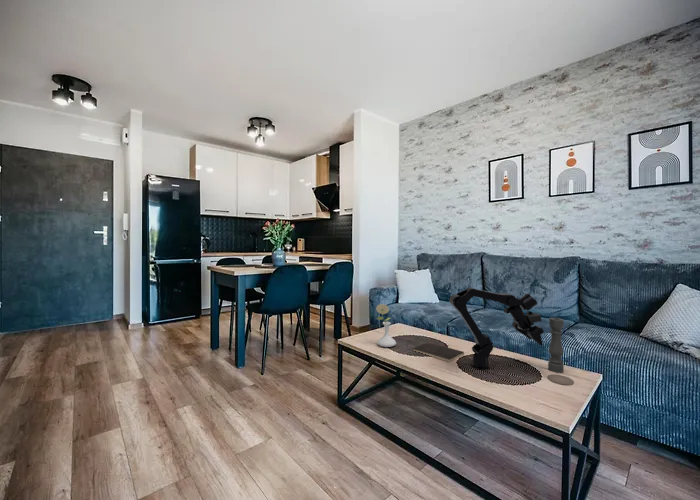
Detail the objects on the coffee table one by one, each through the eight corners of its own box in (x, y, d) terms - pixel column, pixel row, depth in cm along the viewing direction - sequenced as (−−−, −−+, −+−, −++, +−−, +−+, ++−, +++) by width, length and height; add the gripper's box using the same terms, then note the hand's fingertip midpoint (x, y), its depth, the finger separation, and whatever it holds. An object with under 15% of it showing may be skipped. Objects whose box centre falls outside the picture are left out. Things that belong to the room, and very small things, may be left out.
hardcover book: (449, 363, 161) (449, 358, 161) (412, 352, 178) (412, 348, 178) (464, 355, 172) (464, 351, 172) (428, 345, 189) (428, 342, 189)
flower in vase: (399, 344, 190) (399, 303, 189) (391, 349, 180) (391, 307, 179) (380, 340, 197) (380, 301, 196) (371, 346, 187) (371, 304, 186)
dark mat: (563, 386, 133) (563, 385, 133) (541, 377, 142) (541, 376, 142) (579, 383, 136) (579, 382, 136) (557, 374, 146) (557, 373, 146)
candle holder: (563, 374, 146) (564, 321, 146) (548, 371, 149) (548, 319, 149) (563, 369, 151) (563, 318, 151) (548, 366, 155) (548, 316, 154)
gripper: (543, 311, 144) (562, 338, 145) (522, 303, 163) (538, 327, 163) (523, 324, 145) (542, 351, 145) (504, 314, 163) (521, 339, 163)
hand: (536, 341), depth 154 cm, fingers open, 9 cm apart
